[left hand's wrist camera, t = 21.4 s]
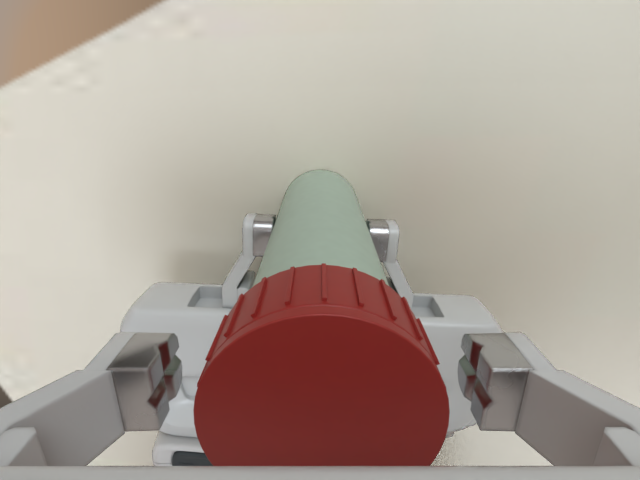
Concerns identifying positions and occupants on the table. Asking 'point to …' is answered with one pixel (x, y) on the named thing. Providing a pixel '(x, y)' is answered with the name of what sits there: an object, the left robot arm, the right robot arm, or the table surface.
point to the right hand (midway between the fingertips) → (320, 219)
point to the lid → (321, 376)
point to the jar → (320, 228)
